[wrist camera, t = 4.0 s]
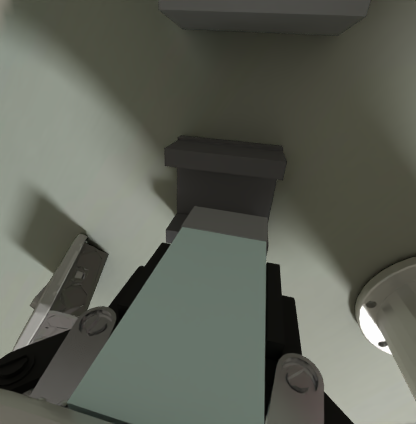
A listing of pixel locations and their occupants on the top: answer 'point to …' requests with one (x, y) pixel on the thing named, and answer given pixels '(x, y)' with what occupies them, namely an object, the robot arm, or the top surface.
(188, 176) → the dark grey flanged block
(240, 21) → the port
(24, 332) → the electrical switch
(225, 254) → the plug
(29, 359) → the robot arm
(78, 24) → the top surface
